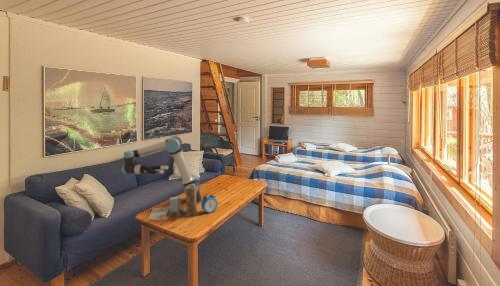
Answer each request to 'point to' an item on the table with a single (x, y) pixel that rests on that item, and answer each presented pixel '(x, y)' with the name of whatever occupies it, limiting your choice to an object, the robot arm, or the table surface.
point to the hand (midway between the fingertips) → (165, 169)
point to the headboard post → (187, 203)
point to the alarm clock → (209, 203)
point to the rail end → (175, 204)
